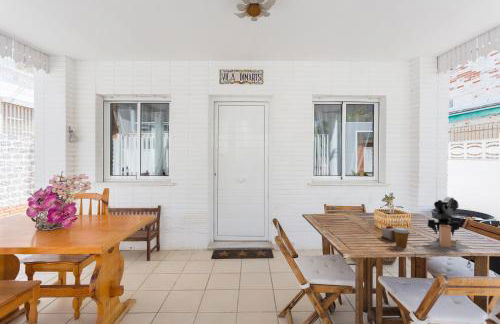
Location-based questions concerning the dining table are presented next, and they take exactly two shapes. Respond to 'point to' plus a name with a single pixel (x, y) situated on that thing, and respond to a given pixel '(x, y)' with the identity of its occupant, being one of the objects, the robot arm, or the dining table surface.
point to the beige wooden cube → (453, 242)
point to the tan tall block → (445, 236)
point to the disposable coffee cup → (401, 236)
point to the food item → (388, 233)
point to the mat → (458, 246)
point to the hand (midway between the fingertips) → (444, 234)
